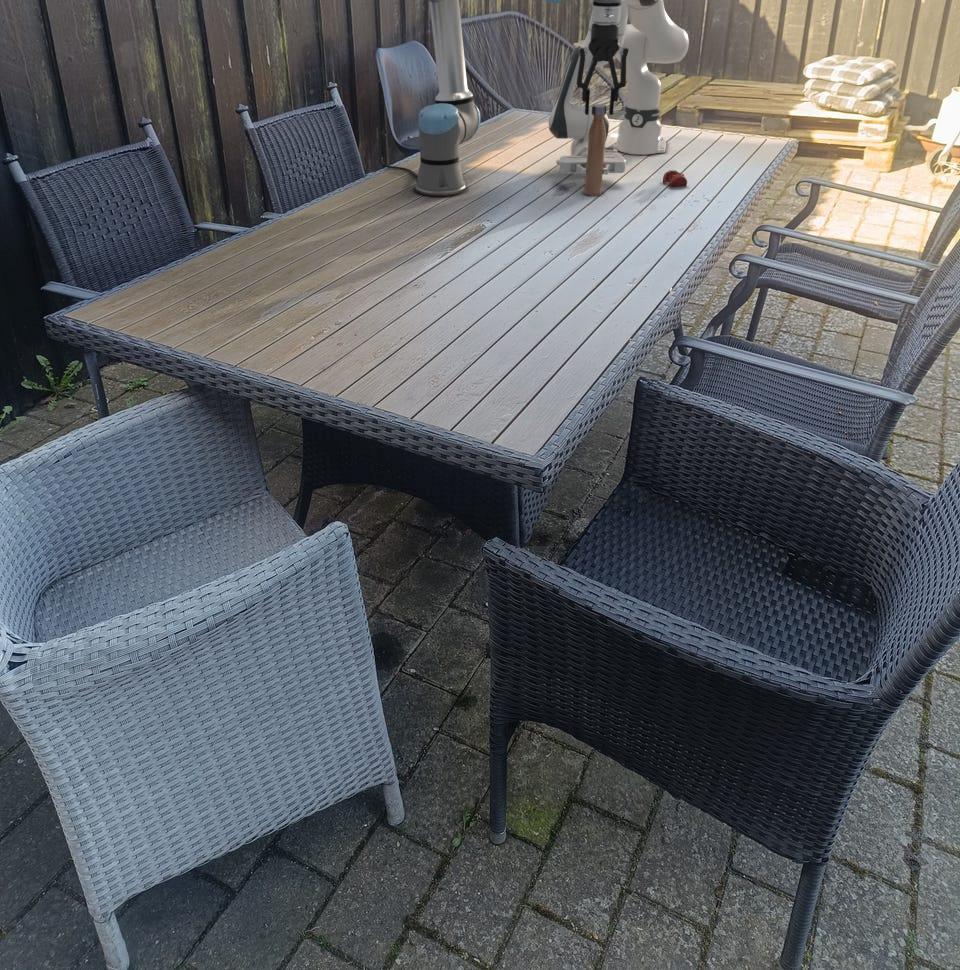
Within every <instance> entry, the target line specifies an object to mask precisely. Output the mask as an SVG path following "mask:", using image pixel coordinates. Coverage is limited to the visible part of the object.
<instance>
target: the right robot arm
mask: <svg viewBox="0 0 960 970" xmlns="http://www.w3.org/2000/svg"><path fill="white" fill-rule="evenodd" d="M592 14H593V10H592V11H591V15H590V20H589V24H588V29H587V34H586V36H585V38H584V40H583V42H582V43H581V44H580V45H579V46H577V47H575V48H574V50H573V52H572V53H571V56H570V58H569V60H568V63H567V66H566V70H565V72H564V75H563V78H562V81H561V84H560V87H559V91H558V93H557V97H556V99H555V103H554V105H553V108H552V110H551V112H550V114H549V117H548V130H549V132H550V134H551V135H552V136H554V137H555V138H556V139H561V140H562V139H563V140H565V139H566V140H567V139H569V140H570V139H572V141H571V143H570V155H561V156H560V157H559V159H556V160H555V163H556V165H557V166H558V172H559V174H563V175H564V174H565V175H567V174H580V175H582V176H585V175H586V171H587V169H586V161H587V147H588V133H589V129H590V126H591V123H592V120H593V118H594V115H592V106H589V112H588V115H586V114H585V105H584V106H583V105H575V104H572V103H571V101H572V98H573V95H574V92H575V89H576V87H577V84H576V83H577V76H578V68H579V61H580V53H579V48H580V47H582V48H583V47H587V46H589V43H590V41H591V28H592V24H594V22H593V21H592ZM628 21H629V24H628ZM617 24H619V36H618V43H619V46H621V47H627V49H628V50H629V51H628V54H627V57H626V83H627V92H626V93H627V94H626V105H625V107H624V110H623V111H624V112H623V114H624V115H623V117H624V119H622V121H621V122H619V124H618V131H617V133H611V134H610V138H616V142H615V143H612V145H611V147H606V146H605V153H604V165H603V176H604V175H605V176H606V175H609V174H623V173H625V171H626V159H625V157H624V156H623V155H622V154H621V153H624V154H630V155H643V156H644V155H654V154H664V153H666V148H667V146H666V145H667V140H666V139H665V138H664V139H663V136H662V127H663V126H662V124H661V121H660V116H661V105H660V103H661V94H662V93H661V92H662V83H661V81H660V79H659V78H658V76H656V75H655V74H653V73H652V72H651V71H650V70H649V68H648V64H649V63H650V64H661V65H662V64H663V65H667V64H668V65H669V64H675V63H680V62H681V61H682V60H683V59H684V58H685V57H686V55H687V53H688V51H689V45H690V40H689V39H690V38H689V35H688V33H687V32H686V30H685V29H684V28H681V27H680V26H678V25H677V24H676V23H675V22H674V21H673V20H672V19H671V17H669V14H668V13H667V11H666V9H665V4H664V0H621V11H620V21H619V22H618V23H617ZM592 58H593V55H592V54H591V52H590V50H589V51H588V52H587V55H586V56H585V64H584V71H583V74H584V73H585V72H588V70H589V67H590V64H591V61H592ZM616 59H617V60H618V62H619V63H620V64H621V55H620V54H619V50H618V51H617V53H616V54H615V55H614V57H613V60H616ZM647 63H648V64H647ZM606 65H609V63H608V61H598V63H597V65H596V67H595V69H596V68H599V67H602V66H603V67H604V66H606ZM603 120H604V123H605V129H606V141H605V143H606V142H607V140H608V137H609V136H608V135H609V130H610V120H609V117H608V114H607V113H606V115H605V116H604V117H603ZM618 151H619V152H621V153H619V152H618Z"/></svg>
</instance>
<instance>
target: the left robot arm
mask: <svg viewBox="0 0 960 970" xmlns="http://www.w3.org/2000/svg"><path fill="white" fill-rule="evenodd" d="M427 1H428V2H429V3H428V4H429V13H430V20H431V30H432V39H433V47H434V57H435V65H436V74H437V82H438V90H439V91H438V94H437V95H436V96H435V98H434V101H435V103H433V104H429V105H427V106H425V107H422V109H420V111H419V113H418V122H417V124H418V136H419V138H418V139H419V157H420V158H419V159H420V161H419V162H420V164H419V168H418V172H417V174H416V173H415V172H414V170H412V169H409V168H407V167H401V166H395V165H389V164H386V163H385V162H384V158H383V156H381V157H380V158H379V161H380V164H381V166H383V167H384V168H388V169H393V170H400V171H401V170H402V171H406V172H408V173H409V174H411V175H413V176H414V177H415V178H416V180H415V192H417V193H418V194H420V195H424V196H430V197H450V196H455V195H459V194H461V193H463V192H464V191H466V181H465V179H464V176H463V172H462V169H461V165H460V145H462V144H464V143H466V142H468V141H470V140H471V139H472V138H473V137H474V136H475V135H476V134H477V132H478V131H479V128H480V125H481V112H480V110H479V108H478V105H476V104H475V100H474V94H473V92H472V91H470V90H469V88H468V80H467V79H468V78H467V71H466V60H465V51H464V48H465V47H464V40H463V29H462V28H463V27H462V17H461V8H460V0H427ZM544 1H545V2H547V3H550V4H561V3H563V2H564V1H565V0H544ZM592 11H593V14H592V13H591V14H592V21H593V22H594V24H592V28H591V41H590V43H589V46H587V47H583V48H582V47H580V48H579V53H580V61H579V68H578V76H577V83H576V87H577V88H580V89H582V92H581V100H582V102H583V103H585V104H584V107H585V114H586V115H588V112H589V107H590V99H591V98H590V97H591V90H590V88H589V85H590V83H591V81H592V77H593V75H594V72H595V70H596V68H597V67H596V65H597V63H598V61H608V66H609V71H610V76H611V80H612V84H613V88H610V98H609V110H608V113H609V115H610V116H613V115H614V107H615V103H617V102H618V100H619V91H620V89H622V88H625V87H626V86H627V76H626V57H627V54H628V51H629V50H628V49H627V47H621V46H619V43H618V36H619V24H617V23H618V22H619V21H620V11H621V0H593V2H592ZM589 50H590V52H591V54H592V55H593V58H592V61H591V64H590V67H589V70H587V71H586V72H587V73H586V75H585V78H584V81H583V76H584V73H583V71H584V64H585V56H586V55H587V52H588V51H589ZM618 50H619V54H620V55H621V63H620V73H619V75H620V76H619V77H620V78H619V80H618V75H617V70H616V66H615V62H614V60H615V59H614V60H613V57H614V55H615V54H616V53H617V51H618ZM595 67H596V68H595Z"/></svg>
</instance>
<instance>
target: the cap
mask: <svg viewBox="0 0 960 970" xmlns="http://www.w3.org/2000/svg"><path fill="white" fill-rule="evenodd" d="M591 107H592V115H594V116H605V115H606V114H607V105H606V104H602V103H597V104H596V103H595V104H592V106H591Z"/></svg>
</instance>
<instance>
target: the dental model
mask: <svg viewBox="0 0 960 970" xmlns="http://www.w3.org/2000/svg"><path fill="white" fill-rule="evenodd" d="M662 183H663V184H665V183H669V184H668V187H669V188H682V187H687V186H688V179H687V178H686V176H685V174H684V173H682V172H678V170H675V169H673V170H672V169H670V170H667V171H666V172H665V173H664V174H663V177H662Z"/></svg>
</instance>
